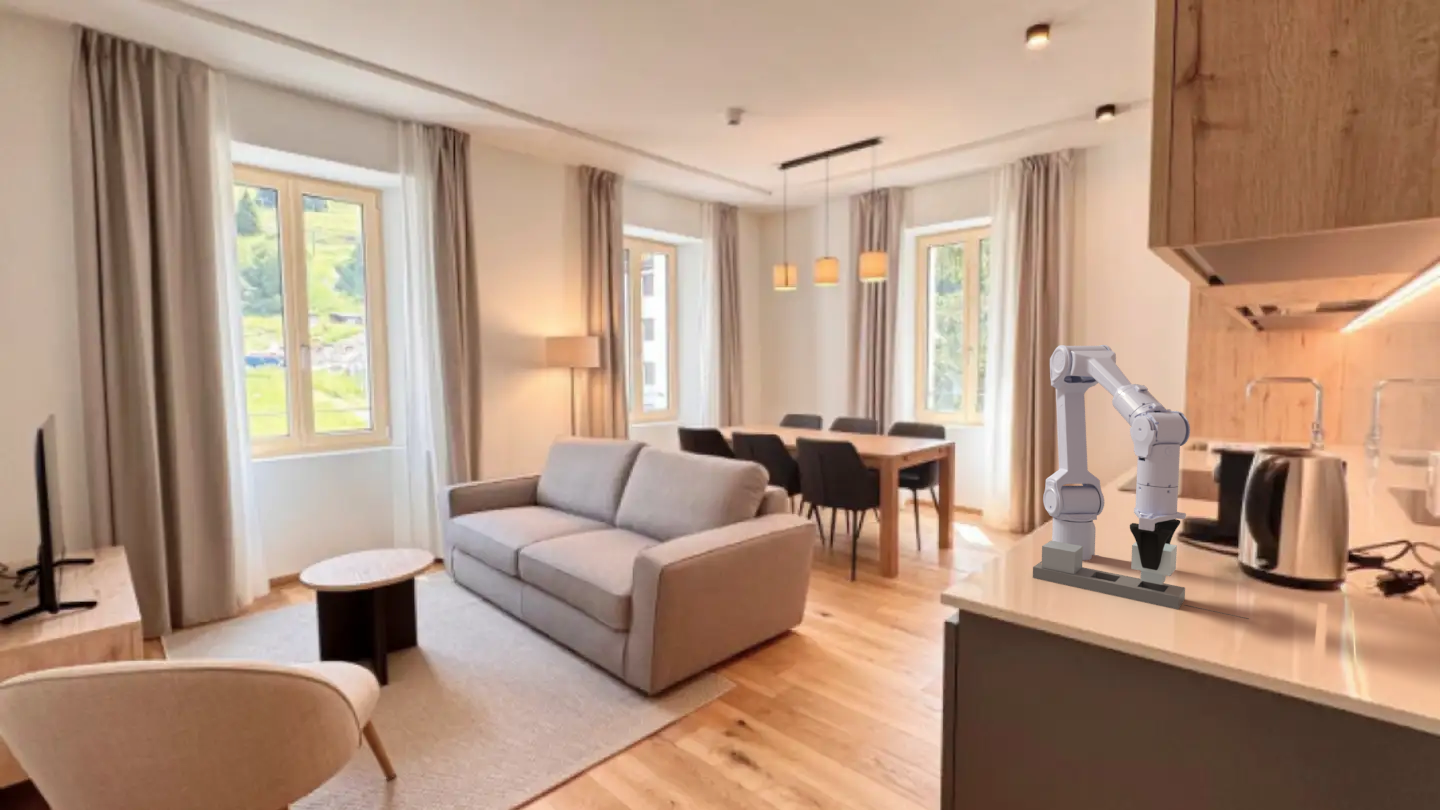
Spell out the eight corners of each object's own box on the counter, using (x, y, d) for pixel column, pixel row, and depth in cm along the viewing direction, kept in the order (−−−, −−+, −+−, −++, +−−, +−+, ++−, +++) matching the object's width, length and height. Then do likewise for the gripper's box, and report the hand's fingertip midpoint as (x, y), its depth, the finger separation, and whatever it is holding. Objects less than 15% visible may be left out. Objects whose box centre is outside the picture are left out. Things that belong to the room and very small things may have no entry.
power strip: (1043, 574, 122) (1044, 538, 121) (1250, 619, 100) (1252, 575, 100) (1032, 582, 117) (1033, 545, 117) (1246, 630, 96) (1248, 585, 96)
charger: (1137, 573, 110) (1138, 539, 110) (1175, 580, 107) (1176, 545, 106) (1130, 580, 107) (1132, 545, 106) (1169, 588, 103) (1171, 551, 103)
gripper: (1178, 494, 98) (1174, 581, 99) (1194, 481, 108) (1190, 559, 109) (1125, 488, 102) (1121, 570, 103) (1144, 476, 113) (1141, 551, 114)
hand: (1153, 564), depth 106 cm, fingers closed on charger, 5 cm apart
